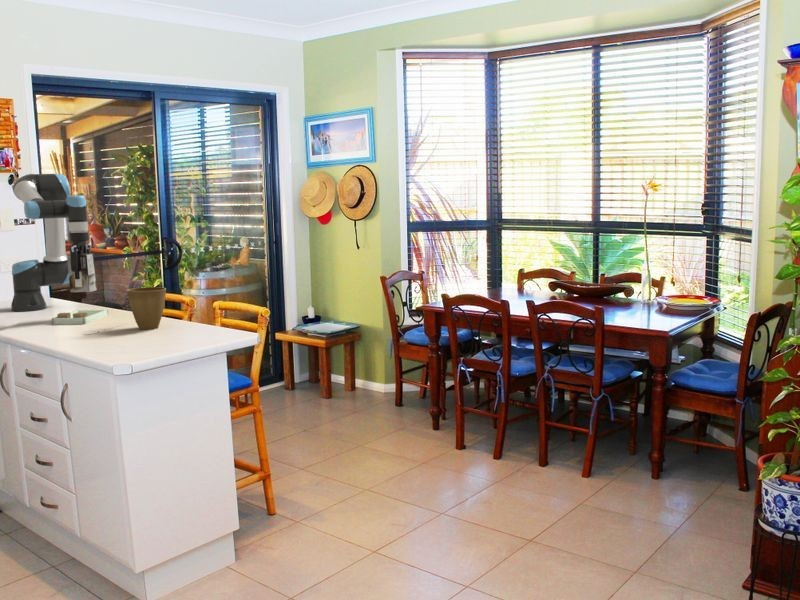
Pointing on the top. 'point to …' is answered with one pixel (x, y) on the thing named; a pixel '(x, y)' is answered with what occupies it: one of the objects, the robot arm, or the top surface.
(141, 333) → the top surface
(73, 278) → the coffee box
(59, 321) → the tray
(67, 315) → the walnut block
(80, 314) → the walnut block
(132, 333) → the top surface
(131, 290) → the plant pot
